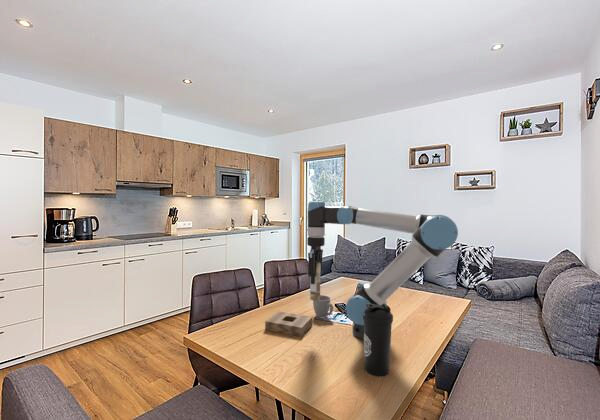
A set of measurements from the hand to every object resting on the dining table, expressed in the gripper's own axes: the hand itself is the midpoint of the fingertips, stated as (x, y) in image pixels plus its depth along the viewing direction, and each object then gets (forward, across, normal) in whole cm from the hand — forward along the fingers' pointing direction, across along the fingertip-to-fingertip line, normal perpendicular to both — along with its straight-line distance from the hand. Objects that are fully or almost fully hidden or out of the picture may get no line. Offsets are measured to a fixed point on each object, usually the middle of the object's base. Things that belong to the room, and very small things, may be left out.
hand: (315, 289), depth 132 cm
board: (+21, -4, -14) cm, 25 cm away
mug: (+21, -23, -3) cm, 31 cm away
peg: (+4, 0, 0) cm, 4 cm away
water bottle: (+21, +17, +29) cm, 40 cm away
